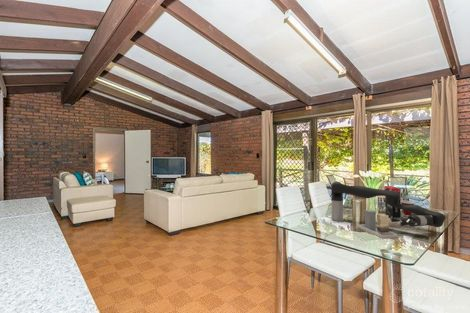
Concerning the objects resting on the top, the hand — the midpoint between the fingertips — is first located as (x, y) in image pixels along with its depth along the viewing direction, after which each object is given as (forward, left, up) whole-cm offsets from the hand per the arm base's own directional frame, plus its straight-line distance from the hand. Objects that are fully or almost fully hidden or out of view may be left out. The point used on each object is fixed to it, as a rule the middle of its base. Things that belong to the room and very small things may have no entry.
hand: (396, 222), depth 175 cm
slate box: (-15, +6, -9) cm, 19 cm away
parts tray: (-12, +1, -10) cm, 15 cm away
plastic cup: (+22, +71, -10) cm, 75 cm away
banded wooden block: (-9, -5, -9) cm, 13 cm away
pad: (-20, -12, -10) cm, 25 cm away
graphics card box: (+7, +53, -10) cm, 54 cm away
